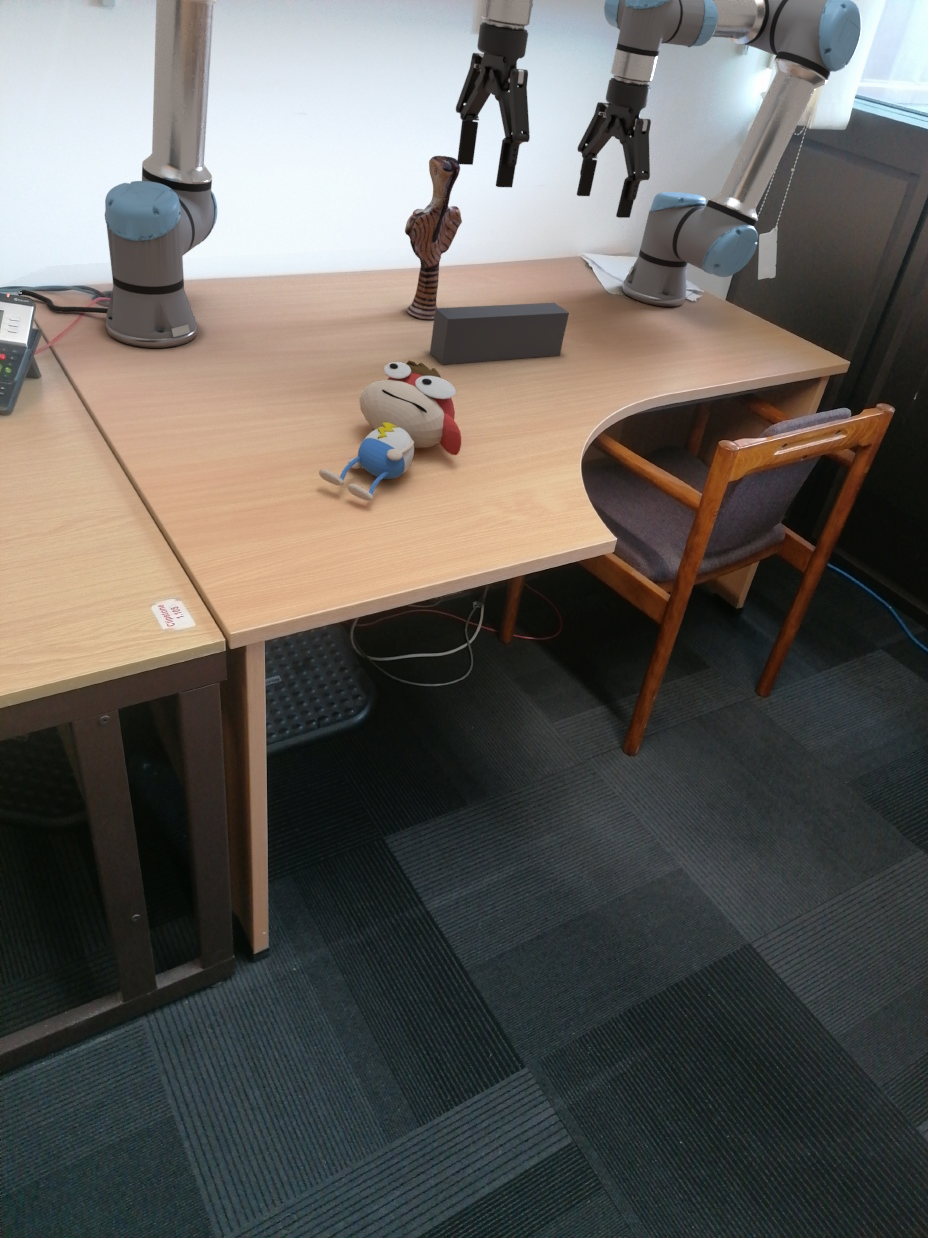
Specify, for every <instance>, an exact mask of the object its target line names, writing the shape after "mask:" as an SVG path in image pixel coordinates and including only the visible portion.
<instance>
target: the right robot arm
mask: <svg viewBox="0 0 928 1238" xmlns="http://www.w3.org/2000/svg"><path fill="white" fill-rule="evenodd" d="M603 13H604V18H605V20H606V22H607V23H608V24H609V25H610V26H611V27H614V28H616V29H618V30H619V33H618V39H617V43H616V48H615V51H614V56H613V60H612V65H611V70H610V74H611V75H612V77H611V78H610V79H609V80H608V83H607V89H606V95H605V101H606V102H599V101H598V102H597V103H596V106H595V110H594V113H593V116H592V118H591V120H590V122H589V124H588V126H587V128H586V130H585V132H584V134H583V136H582V138H581V140H580V142H579V144H578V145H577V152H578V153H580V154H581V157H582V161H581V167H580V172H579V174H580V176H579V181H578V187H577V189H576V190H577V191H576V196H578V197H590V196H591V191H592V186H593V182H594V178H595V174H596V168H597V165H598V160H597V159H598V154H599V153H600V152H601V151H602V149H603V148H604V147H605V146H606V145H607V143H608V142H609V141H610V139H612V137H614V139H616V140H618V141H619V144H620V145H621V146H622V150H623V157H624V161H625V167H626V173H627V177H626V178H624V181H623V184H622V188H621V189H622V190H621V193H620V198H619V201H618V206H617V210H616V214H615V216H616V218H619V219H622V218H623V219H624V218H625V219H626V218H627V219H628V218H629V219H630V218H631V215H632V211H633V210H632V209H633V206H634V202H635V200H636V198H637V195H638V192H639V187H640V183H641V182H642V181H649V180H650V177H651V163H650V162H651V161H650V159H651V158H650V131H651V124H652V121H651V120H652V119H650V118H642V117H641V111H642V110H643V109H645V108H646V107H647V105H648V100H649V97H650V93H651V87H650V84H649V83H651V82H652V81H653V79H654V74H655V69H656V65H657V60H658V57H659V54H660V49H661V46H662V44H666V45H667V44H668V45H675V46H684V47H687V48H692V47H702V46H703V45H705V44H707V43H708V42H710V40H711V38H725V39H729V40H731V42H733V43H734V44H736V45H742V46H749V47H751V48H755V49H758V50H761V51H763V52H765V53H768V54H771V55H773V56H775V57H774V59H773V66H774V69H775V74H774V77H773V79H772V81H771V83H770V85H769V87H768V90H767V92H766V93H765V95H764V98H763V100H762V102H761V104H760V107H759V109H758V110H757V113H756V115H755V116H754V119H753V121H752V124H751V125H750V128H749V129H748V132H747V134H746V136H745V138H744V140H743V143H741V146H740V149H739V150H738V152H737V155H736V157H735V159H734V161H733V164H732V166H731V168H730V170H729V172H728V173H727V176H726V178H725V180H724V182H723V184H722V186H721V188H720V191H719V192H718V193H717V194H716V195H713V196H711V197H710V198H708V199H707V200H706V198H705V196H703V195H701V194H700V195H699V194H694V193H689V192H679V191H662V192H659V193H657V194H656V195H655V196H654V197H653V200H652V203H651V205H650V208H649V210H648V215H647V219H646V223H645V227H644V231H643V236H642V240H641V244H640V249H639V252H638V256H637V258H636V260H635V261H634V263H633V265H632V266H631V267H630V269H629V270H628V274H627V275H626V277H625V278H624V279H623V284H622V288H621V290H622V291H623V293H624V294H625V295H626V296H628V297H630V298H631V299H633V300H635V301H638V302H641V303H644V304H647V305H651V306H658V307H666V308H669V307H670V308H673V307H679V306H682V305H684V304H685V301H686V297H687V267H688V264H689V265H691V266H693V267H696V268H697V269H700V270H702V271H703V272H705V273H707V274H708V275H713V276H716V277H718V278H728V277H731V276H733V275H735V274H736V273H738V272H740V271H741V270H742V269H743V268H744V267H745V266H746V265H747V264H748V263H749V262H750V260H751V259H752V257H753V256H754V254H755V252H756V249H757V247H758V242H757V241H758V240H759V233H758V231H757V230H756V228H755V227H756V225H757V223H758V221H759V218H758V214H757V206H758V205H759V204H760V201H761V199H762V197H763V195H764V193H765V192H766V189H767V187H768V185H769V183H770V181H771V179H772V176H773V175H774V172H775V171H776V169H777V167H778V164H779V163H780V160H781V158H782V157H783V154H784V152H785V150H786V148H787V147H788V145H789V142H790V140H791V139H792V137H793V135H794V132H795V130H796V128H797V126H798V124H799V122H800V120H801V118H802V116H803V114H804V112H805V110H806V108H807V106H808V104H809V102H810V100H811V98H812V96H813V94H814V92H815V91H816V90H817V89H818V88H820V87H822V86H824V85H826V84H827V82H828V80H829V79H830V77H831V75H832V73H835V72H838V71H839V72H840V71H841V70H842V69H845V68H846V66H847V65H848V64H849V63H851V61H852V59H853V57H854V56H855V54H856V52H857V49H858V47H859V43H860V40H861V34H862V27H863V26H862V14H861V10H860V8H859V7H858V5H857V4H856V3H855V2H854V1H853V0H605V1H604V5H603ZM706 201H707V202H706Z"/></svg>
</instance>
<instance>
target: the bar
mask: <svg viewBox="0 0 928 1238" xmlns="http://www.w3.org/2000/svg"><path fill="white" fill-rule="evenodd" d="M569 315H570V312H569V311H567V309H564V308H563V307H561V306H560V305H559V304H557V303H556V302H541V303H520V304H519V303H518V304H498V305H497V304H496V305H477V306H475V305H474V306H455V307H454V306H453V307H437V308H435V316H434V319H433V326H432V332H431V341H430V350H429V354H430V355H431V356H432V357H434V359H435V360H436V361H438V362H439V363H440V364H441V365H459V364H468V363H469V364H471V363H480V362H481V363H483V362H494V361H506V360H508V361H509V360H519V359H531V358H542V357H543V358H544V357H558V356H561V353H562V352H561V351H562V346H563V342H564V338H565V333H566V330H567V329H566V328H567V325H568V319H569Z"/></svg>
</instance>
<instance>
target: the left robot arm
mask: <svg viewBox="0 0 928 1238" xmlns="http://www.w3.org/2000/svg"><path fill="white" fill-rule="evenodd" d="M217 1H218V0H156V2H155V33H154V35H155V36H154V42H155V43H154V69H153V71H154V73H153V103H152V104H153V105H152V106H153V107H152V139H151V147H152V148H151V154H150V155H149V156H148V157H146V158H145V159H144V160H143V161H142V163H141V180H134V181H130V183H129V182H123V183H120V184H117V185H115V186H113V187H112V188H111V189H110V190H109V191H108V192H107V193H106V195H105V199H104V204H105V205H104V208H105V209H104V210H105V211H104V221H105V224H106V233H107V241H108V250H109V259H110V268H111V277H112V291H111V295H110V300H109V303H108V307H94V306H93V307H91V306H60V305H55V304H54V301H52V299H51V298H49V297H46V296H44V295H43V294H40V293H37V292H35V291H31V290H29V289H28V290H27V289H21V290H22V291H20V292H22V294H19V296H28V297H31V298H34V299H35V300H38V301H41V302H43V303H45V304H47V307H48V308H49V310H52V311H55V312H58V313H59V312H61V313H91V314H92V313H95V314H106V315H105V326H106V328H105V329H106V332H107V334H108V335H109V336H110V337H111V338H112V339H114V340H116V341H117V342H120V343H123V344H126V345H130V346H133V347H140V348H152V349H157V348H160V349H163V348H171V347H177V346H182V345H184V344H187V343H189V342H191V341H193V340H194V339H195V338H196V337H197V335H198V324H197V320H196V317H195V315H194V311H193V309H192V306H191V304H190V300H189V298H188V296H187V293H186V290H185V278H184V276H185V275H184V260H183V259H184V258H183V257H184V256H185V255H186V254H187V253H188V252H190V251H191V250H193V249H194V248H196V246H199V245H200V244H201V243H203V242H204V241H205V240H206V239H207V238H208V237H209V236H210V235H211V233H212V231H213V229H214V227H215V225H216V223H217V220H218V202H217V199H216V196H215V194H214V192H213V191H212V184H213V174H212V173H211V172H210V170H209V169H208V168H207V166H206V164H205V154H206V153H205V152H206V137H207V123H208V106H209V89H210V72H211V60H212V59H211V58H212V41H213V27H214V13H215V4H216V2H217ZM533 6H534V0H482V5H481V14H480V17H481V18H482V19H483V22H481V23H480V24H479V29H478V31H479V32H478V36H477V37H478V38H477V45H476V47H477V50H478V52H472V54H471V59H470V65H469V70H468V72H467V75H466V77H465V80H464V83H463V86H462V89H461V91H460V93H459V94H460V95H459V97H458V100H457V103H456V106H455V112H456V113H457V114H459V117H460V120H461V126H460V134H459V146H458V153H457V158H456V160H457V163H458V164H459V165H465V166H466V165H468V166H471V165H472V166H473V165H474V164H473V163H474V158H475V150H476V144H477V137H478V129H479V122H478V121H480V118H479V114H480V113H481V111H482V109H483V108H484V106H485V104H486V103H487V101H488V99H489V98H490V96H491V95H493V96H494V98H495V100H496V101H497V102H498V106H499V111H500V116H501V117H500V118H501V122H502V127H503V132H504V138H503V139H502V140H501V147H500V154H499V161H498V167H497V173H496V181H495V187H497V188H513V184H514V178H515V173H516V166H517V163H518V156H519V151H520V146H521V145H522V144H523V143H529V141H530V138H531V137H530V120H529V119H530V117H529V103H528V101H529V100H528V89H527V88H528V79H529V71H528V69H524V68H523V69H522V68H518V60H519V59H523V58H525V56H526V53H527V52H526V51H527V45H528V38H529V32H528V30H527V29H526V27H528V26H529V25H530V23H531V18H532V16H531V15H532V10H533ZM479 52H480V53H479Z"/></svg>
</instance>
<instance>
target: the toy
mask: <svg viewBox="0 0 928 1238" xmlns="http://www.w3.org/2000/svg"><path fill="white" fill-rule="evenodd" d="M383 373H384V374H385V375H386V376H387V377H388V378H387V379H382V380H381V379H380V380H375V381H373V382H371V383H369V384H367V385H366V386H365V387H364V388H363V389H362V391H361V393H360V396H359V397H358V398H359V407H360V411H361V414H362V416H363V417H364V419H365V420H366V422H367V423H368V424H369V426H371V427H372V428H373V430H372V431H371V432H369V433H368V434H367V435H366V436H365V438H364V439H363V440H362V441H361V443H360V445H359V448H358V451H357V456H356V457H351V458H349V459H348V460H347V464H346V465H345V467H344V468H343V470H342V471H341V473H340V475H337V474H336V473H334V472H333V471H331V470H329V469H326V468H320V469H319V471H318V476H319V477H320V478H321V479H323V480H324V481H325V482H328V483H329V484H331V485H333V486H334V485H335V486H341V487H342V486H344V485H345V481H344V480H345V477H346V476H347V473H348V472H349V471H350V469H355V470H358V469H361V468H363V469H364V470H365V471H366V472H367V473H369V474H371V475H373V476H374V477H376V478H375V480H373V482H372V484H371V485H370V487H369V490H366V489H365V488H363V487H361V486H360V485H357V484H356V483H350V484H348V485H347V490H348V492H349V493H350V494H352V495H353V496H355V497H357V498H358V499H361V500H364V501H367V502H368V501H373V500H374V496H373V495H374V492H375V489H376V488H377V486H378V484H379V483H380V482H381V481H382V480H391V479H396V478H398V477H400V476H403V474H404V473H406V472H407V471H408V469H409V468H410V466H411V465H412V462H413V459H414V455H415V449H418V448H419V449H420V448H431V447H433V446H435V445H437V444H440V445H441V447H442V448H443V449H444V450H445V451H446V453H448V454H450V455H451V456H458V454H459V453H460V451H461V447H462V434H461V431H460V428H459V426H458V424H457V422H456V421H455V418H456V417H455V415H456V411H455V405H454V401H453V399H452V398H453V397H455V395H456V394H457V390H456V388H455V386H454V385H453V384H452V383H451V382H449V381H448V380H447V379H444V378H442V377H441V375H440V373H439V372H438V370H437V369H436V368H435V367H433V368H432V367H431V369H430V368H429V367H428V366H427V365H425V363H423V362H419V363H416V362H415V361H412V360H408V361H407V362H403V361H392V362H388V363H387V364H385V365H384V367H383Z"/></svg>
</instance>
